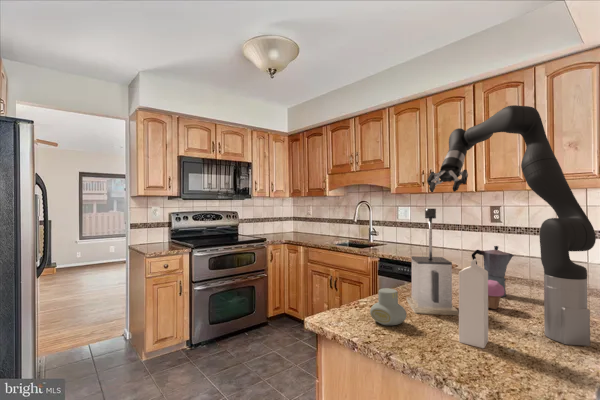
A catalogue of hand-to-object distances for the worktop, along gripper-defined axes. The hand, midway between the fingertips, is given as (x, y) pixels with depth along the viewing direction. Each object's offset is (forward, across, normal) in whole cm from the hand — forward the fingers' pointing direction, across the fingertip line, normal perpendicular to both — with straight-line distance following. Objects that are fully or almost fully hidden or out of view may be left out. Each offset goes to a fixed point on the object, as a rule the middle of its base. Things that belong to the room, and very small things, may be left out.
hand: (442, 190), depth 123 cm
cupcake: (+28, +15, +32) cm, 45 cm away
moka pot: (+13, +11, +47) cm, 50 cm away
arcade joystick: (+38, 0, +22) cm, 44 cm away
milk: (+53, +20, +8) cm, 57 cm away
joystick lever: (+30, 0, +14) cm, 33 cm away
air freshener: (+55, -4, +5) cm, 56 cm away
